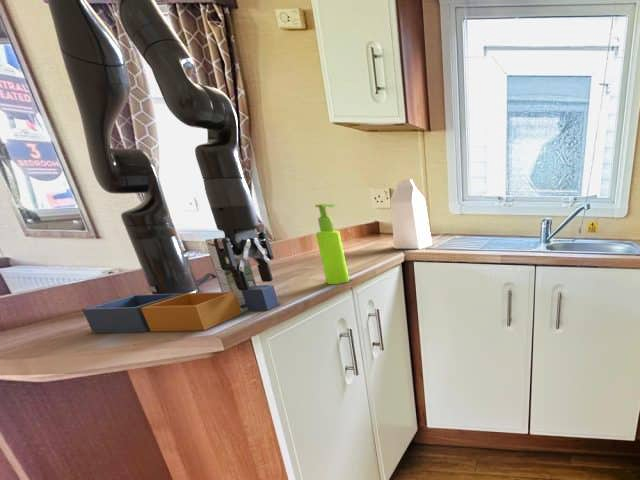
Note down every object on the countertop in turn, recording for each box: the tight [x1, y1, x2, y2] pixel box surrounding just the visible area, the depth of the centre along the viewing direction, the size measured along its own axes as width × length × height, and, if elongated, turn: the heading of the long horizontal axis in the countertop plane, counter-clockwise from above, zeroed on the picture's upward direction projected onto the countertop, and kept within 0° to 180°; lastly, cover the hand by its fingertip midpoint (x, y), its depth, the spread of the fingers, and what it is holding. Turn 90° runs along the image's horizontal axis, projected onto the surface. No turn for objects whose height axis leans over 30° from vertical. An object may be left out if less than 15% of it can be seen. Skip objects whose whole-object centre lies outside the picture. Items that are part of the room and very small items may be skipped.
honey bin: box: [141, 291, 243, 332], centre depth 84 cm, size 12×11×5 cm
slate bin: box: [81, 293, 183, 334], centre depth 84 cm, size 12×11×5 cm
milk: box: [389, 179, 433, 250], centre depth 177 cm, size 12×12×26 cm
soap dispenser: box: [314, 203, 350, 285], centre depth 113 cm, size 6×7×20 cm
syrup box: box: [204, 238, 257, 308], centre depth 94 cm, size 6×6×14 cm
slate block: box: [241, 284, 279, 312], centre depth 92 cm, size 4×4×4 cm
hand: (256, 285), depth 91 cm, fingers open, 8 cm apart
